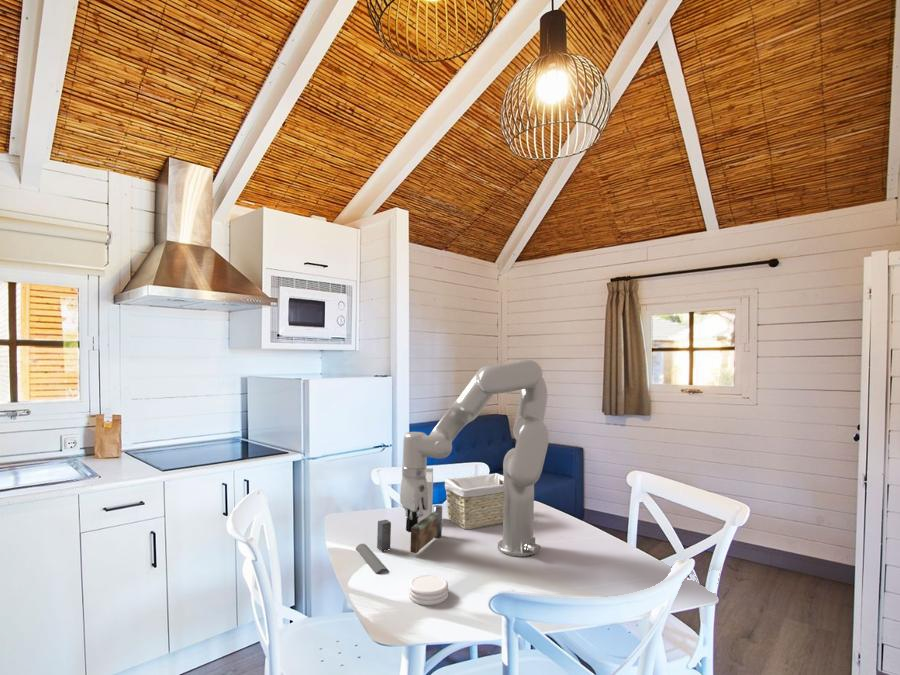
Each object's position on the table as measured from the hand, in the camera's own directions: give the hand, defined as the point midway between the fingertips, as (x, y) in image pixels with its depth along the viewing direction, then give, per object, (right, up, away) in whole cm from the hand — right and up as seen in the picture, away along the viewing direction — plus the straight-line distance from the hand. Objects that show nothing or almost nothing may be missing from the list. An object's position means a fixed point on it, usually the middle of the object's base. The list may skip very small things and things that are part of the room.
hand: (411, 530), depth 156 cm
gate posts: (0, -6, +5) cm, 7 cm away
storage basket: (+23, -7, +28) cm, 37 cm away
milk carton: (+2, -6, +26) cm, 27 cm away
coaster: (+7, -6, -30) cm, 31 cm away
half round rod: (-11, -6, -9) cm, 15 cm away
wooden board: (+4, -4, +1) cm, 6 cm away
